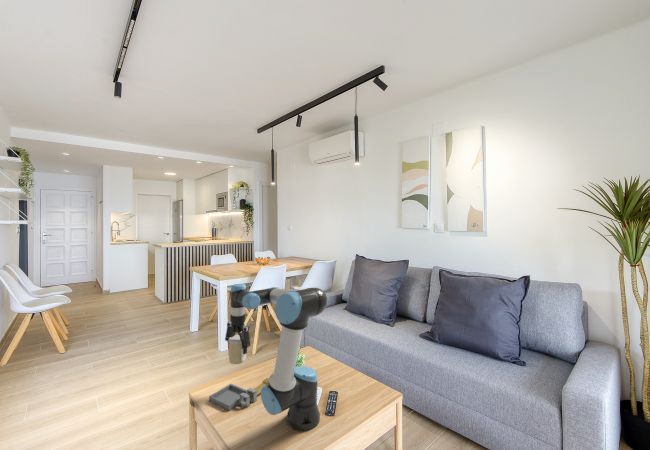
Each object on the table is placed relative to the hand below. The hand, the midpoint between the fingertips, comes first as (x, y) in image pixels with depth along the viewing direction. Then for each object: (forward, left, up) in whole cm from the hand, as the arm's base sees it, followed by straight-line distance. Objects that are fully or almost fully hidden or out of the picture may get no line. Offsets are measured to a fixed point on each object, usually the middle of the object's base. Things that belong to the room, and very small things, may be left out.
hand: (237, 357), depth 159 cm
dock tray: (-4, +5, -19) cm, 20 cm away
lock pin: (-11, -6, -18) cm, 22 cm away
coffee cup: (0, 0, -2) cm, 2 cm away
